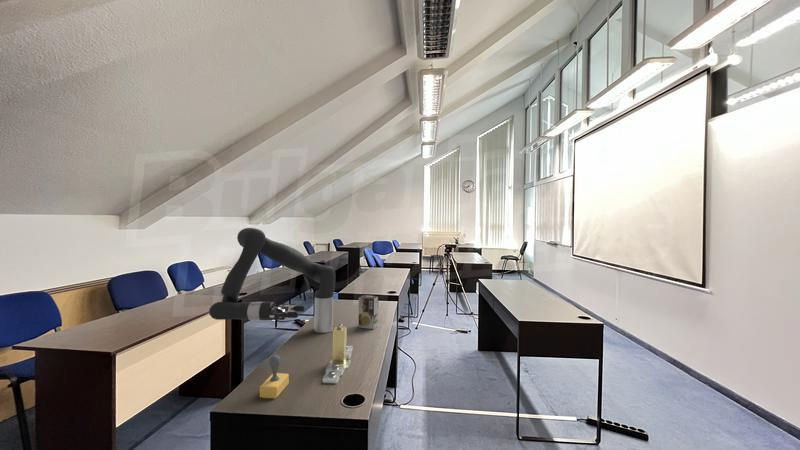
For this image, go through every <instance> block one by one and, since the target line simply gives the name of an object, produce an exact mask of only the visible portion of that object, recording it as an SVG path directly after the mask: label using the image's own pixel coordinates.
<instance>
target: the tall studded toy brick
mask: <svg viewBox="0 0 800 450" xmlns="http://www.w3.org/2000/svg"><path fill="white" fill-rule="evenodd" d="M347 328H348V327H347V326H343V323H339V324H338V325H337V326H335V327H333V330H332V358H331V360H332V364H334V363H337V364H345V363H346V345H347V338H348V337H347V334H348V333H347V332H348V331H347V330H348V329H347Z"/></svg>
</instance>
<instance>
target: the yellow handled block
mask: <svg viewBox="0 0 800 450" xmlns="http://www.w3.org/2000/svg"><path fill="white" fill-rule="evenodd" d="M268 364H269V366H270V370H271V372H272V374H271V375H270V376H269V377H268V378H267V379H266V380H265V381H264V382H263V383H262V384H261V385H260V386H259V398H261V397H262V398H261V399H275V400H276V399H277V398H278V397H279V396H280V394H282V392H283V391H284V390H285V389H286V388H287V386H288V385H289V384H290V381H289V379H290V376H289V373H282V372H280V373H279V372H278V371H279V368H280V365H281V357H280V355H278V354H273V355H272V356H271V357H270V359H269V363H268Z"/></svg>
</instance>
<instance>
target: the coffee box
mask: <svg viewBox="0 0 800 450" xmlns="http://www.w3.org/2000/svg"><path fill="white" fill-rule="evenodd" d="M377 327H379V295H378V296H377V295H369V294H368V295H367V294H363V295H361V296H359V297H358V328H363V329H368V330H369V329H370V330H375V329H376V328H377Z"/></svg>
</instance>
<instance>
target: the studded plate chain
mask: <svg viewBox="0 0 800 450" xmlns="http://www.w3.org/2000/svg"><path fill="white" fill-rule="evenodd" d="M353 350H354V345H347V344H346V363H345V364H337V363H334V364H332V359H331V360H329V361H330V362H329V363H328V365H327V367H326V368H325V374H324V375H323V378H322V384H338V382H339V380H340V378H341V377H343V374H344V372H345V370H348V369H349V366H350V364H351V362H352V360H351V359H350V358H351V357H352V352H353Z"/></svg>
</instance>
